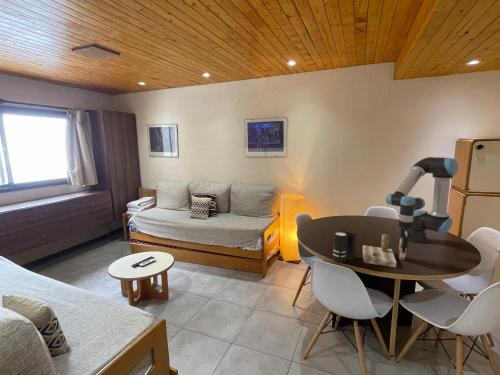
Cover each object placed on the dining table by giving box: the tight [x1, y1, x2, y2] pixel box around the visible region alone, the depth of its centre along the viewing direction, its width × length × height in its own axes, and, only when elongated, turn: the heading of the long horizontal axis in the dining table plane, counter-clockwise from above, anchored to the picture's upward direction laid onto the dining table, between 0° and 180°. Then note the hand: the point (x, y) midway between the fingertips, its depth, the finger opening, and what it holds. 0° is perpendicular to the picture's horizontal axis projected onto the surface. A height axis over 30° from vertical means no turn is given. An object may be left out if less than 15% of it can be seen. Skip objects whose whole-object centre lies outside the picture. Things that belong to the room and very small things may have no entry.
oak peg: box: [398, 237, 408, 261], centre depth 163 cm, size 4×4×14 cm
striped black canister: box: [332, 228, 357, 264], centre depth 163 cm, size 10×14×18 cm
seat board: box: [362, 233, 397, 268], centre depth 165 cm, size 18×22×14 cm
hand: (402, 255), depth 164 cm, fingers closed on oak peg, 4 cm apart
